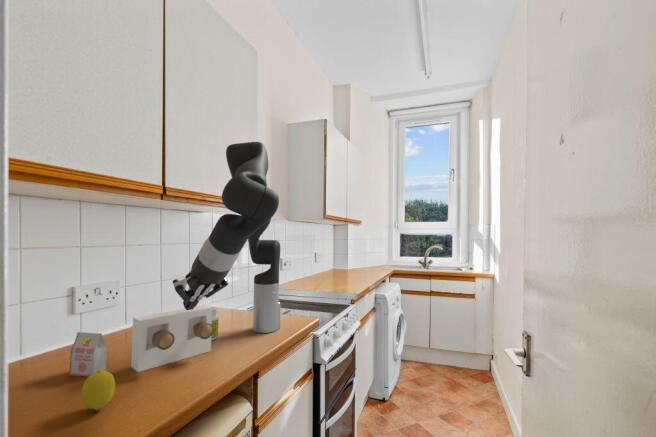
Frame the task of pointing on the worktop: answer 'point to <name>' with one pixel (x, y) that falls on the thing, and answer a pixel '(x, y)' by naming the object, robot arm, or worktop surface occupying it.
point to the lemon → (98, 389)
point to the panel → (179, 326)
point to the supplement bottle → (214, 324)
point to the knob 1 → (163, 339)
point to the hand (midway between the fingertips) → (188, 306)
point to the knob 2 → (203, 329)
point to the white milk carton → (88, 354)
